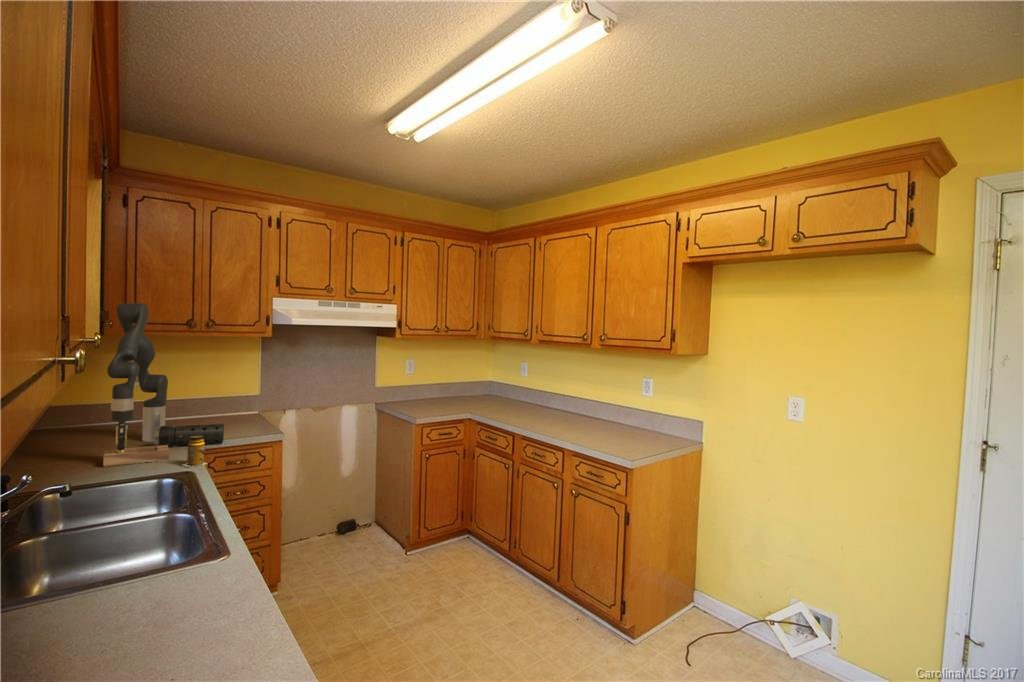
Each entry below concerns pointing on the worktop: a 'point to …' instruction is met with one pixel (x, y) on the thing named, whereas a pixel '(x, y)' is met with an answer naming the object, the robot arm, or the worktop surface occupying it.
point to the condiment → (196, 451)
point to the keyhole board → (136, 455)
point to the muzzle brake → (188, 434)
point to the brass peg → (117, 443)
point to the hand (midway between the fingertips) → (121, 448)
